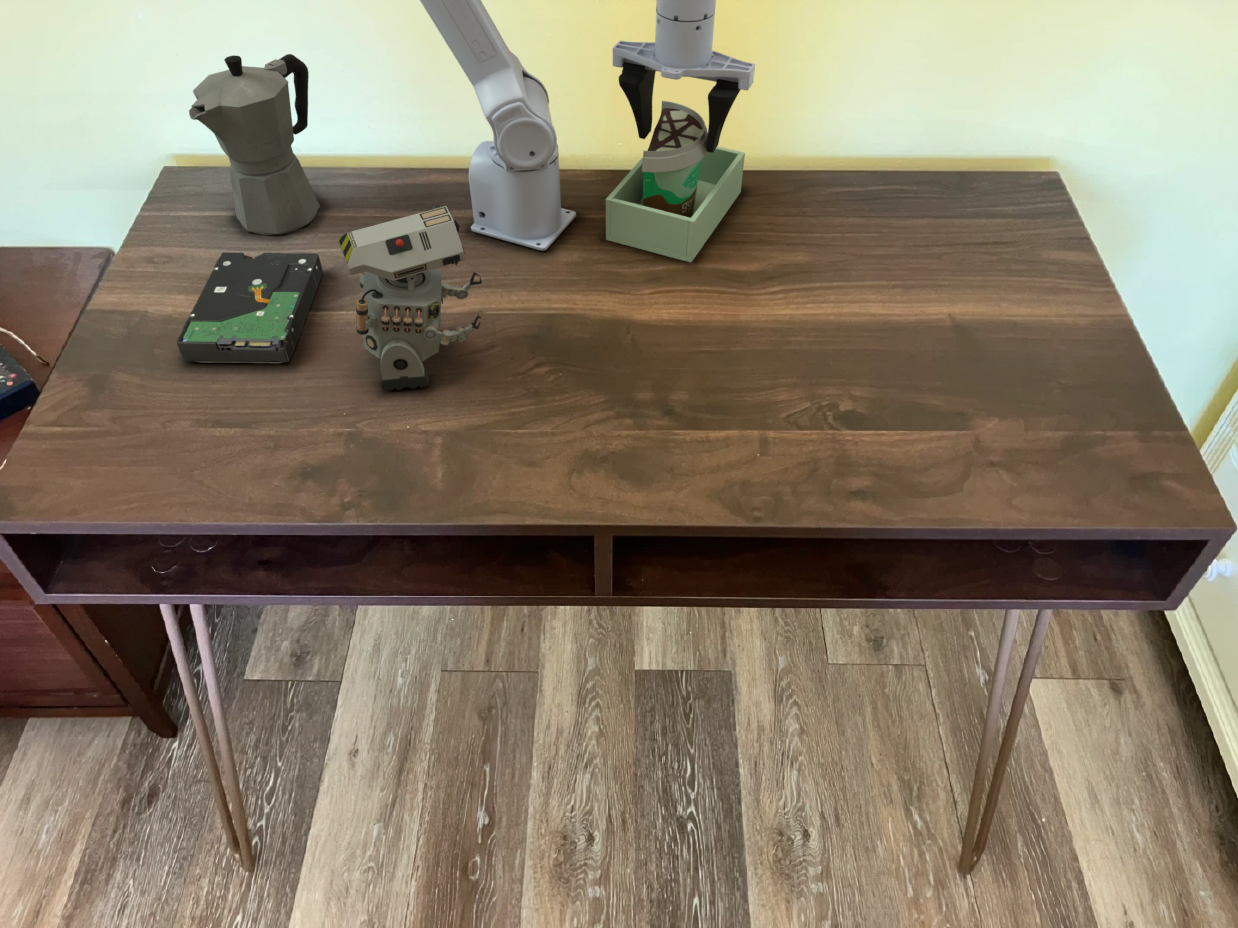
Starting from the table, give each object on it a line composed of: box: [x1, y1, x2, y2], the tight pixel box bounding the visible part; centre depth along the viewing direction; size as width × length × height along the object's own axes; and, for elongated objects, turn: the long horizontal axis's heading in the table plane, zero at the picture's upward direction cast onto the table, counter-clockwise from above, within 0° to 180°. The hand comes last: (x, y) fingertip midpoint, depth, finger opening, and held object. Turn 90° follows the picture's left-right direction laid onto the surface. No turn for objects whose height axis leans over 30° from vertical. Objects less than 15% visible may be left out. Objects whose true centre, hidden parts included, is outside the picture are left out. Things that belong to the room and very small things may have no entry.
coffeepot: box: [188, 53, 321, 236], centre depth 101 cm, size 15×9×18 cm, turn 149°
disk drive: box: [176, 251, 324, 364], centre depth 93 cm, size 10×3×15 cm
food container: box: [642, 100, 708, 218], centre depth 103 cm, size 12×6×10 cm, turn 168°
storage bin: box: [605, 145, 746, 263], centre depth 105 cm, size 10×16×5 cm, turn 155°
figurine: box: [337, 204, 483, 392], centre depth 85 cm, size 9×12×15 cm
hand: (678, 141), depth 100 cm, fingers open, 7 cm apart
